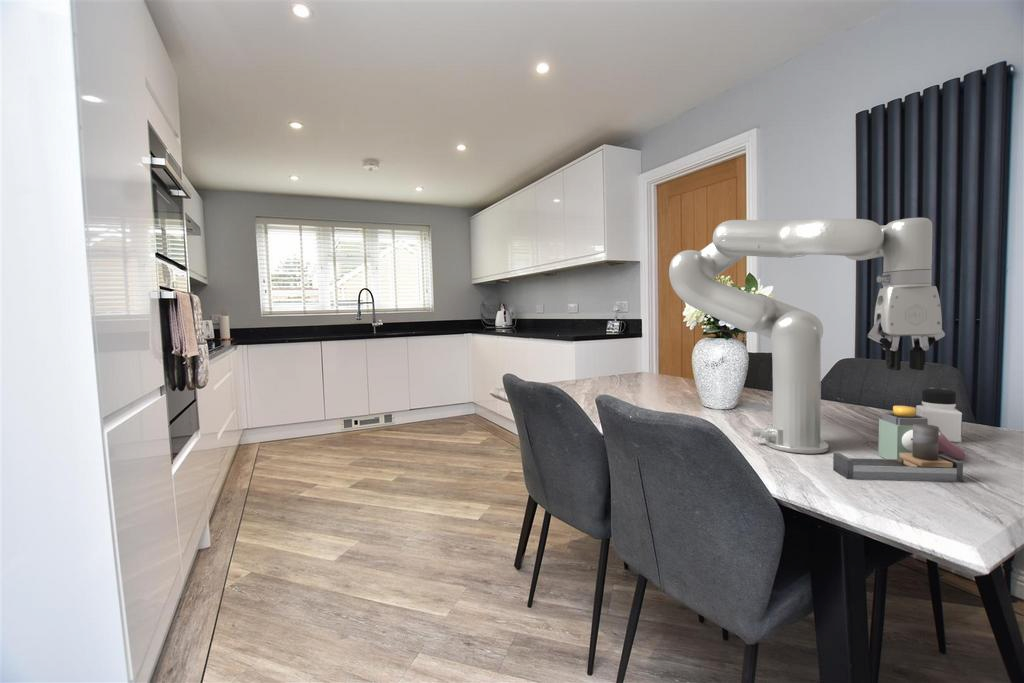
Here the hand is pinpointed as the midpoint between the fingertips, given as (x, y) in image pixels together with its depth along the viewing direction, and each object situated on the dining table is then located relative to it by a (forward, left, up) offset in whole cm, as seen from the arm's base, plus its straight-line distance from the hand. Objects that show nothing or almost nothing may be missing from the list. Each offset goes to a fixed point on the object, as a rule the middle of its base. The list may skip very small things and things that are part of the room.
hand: (905, 368), depth 95 cm
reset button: (0, 0, -10) cm, 10 cm away
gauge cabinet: (0, 0, -19) cm, 19 cm away
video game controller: (+10, +6, -20) cm, 23 cm away
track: (-7, -10, -19) cm, 23 cm away
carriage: (-2, -10, -17) cm, 20 cm away
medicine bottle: (+19, +19, -19) cm, 33 cm away
